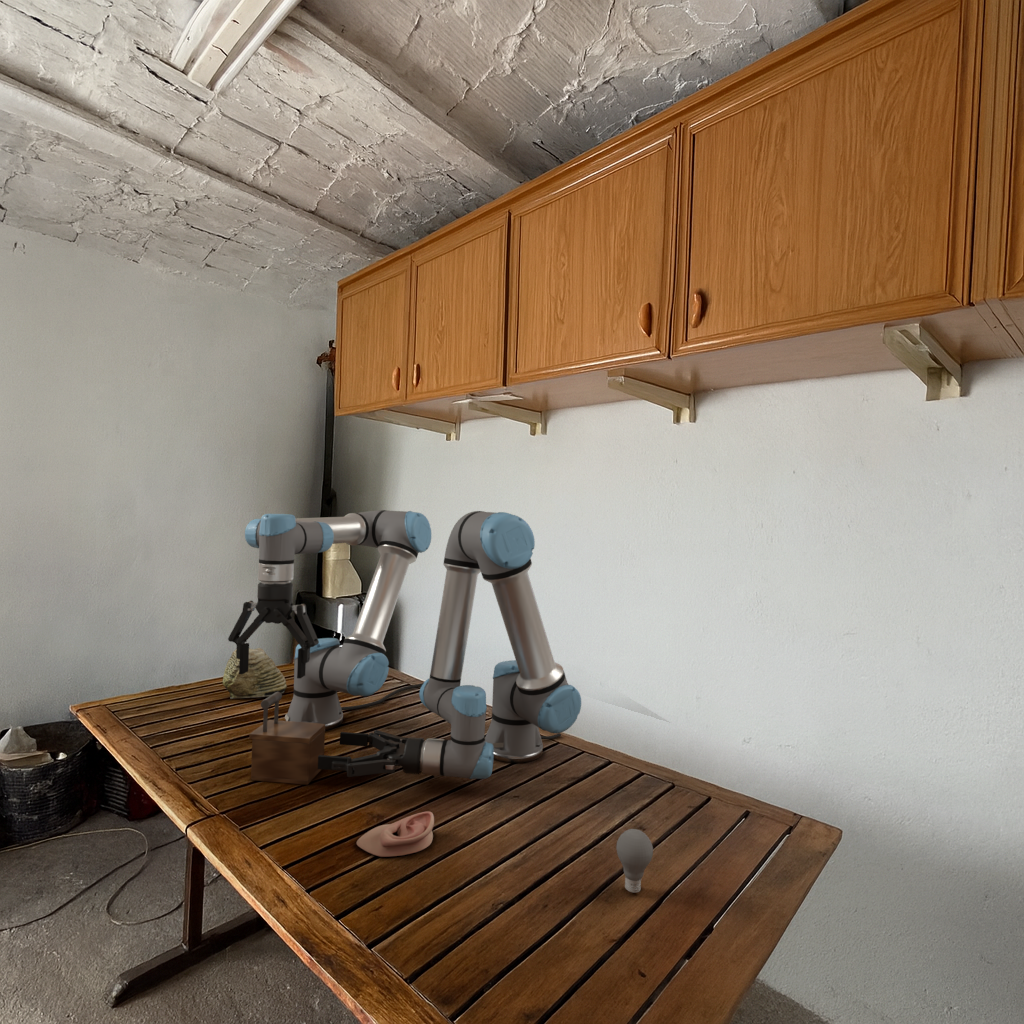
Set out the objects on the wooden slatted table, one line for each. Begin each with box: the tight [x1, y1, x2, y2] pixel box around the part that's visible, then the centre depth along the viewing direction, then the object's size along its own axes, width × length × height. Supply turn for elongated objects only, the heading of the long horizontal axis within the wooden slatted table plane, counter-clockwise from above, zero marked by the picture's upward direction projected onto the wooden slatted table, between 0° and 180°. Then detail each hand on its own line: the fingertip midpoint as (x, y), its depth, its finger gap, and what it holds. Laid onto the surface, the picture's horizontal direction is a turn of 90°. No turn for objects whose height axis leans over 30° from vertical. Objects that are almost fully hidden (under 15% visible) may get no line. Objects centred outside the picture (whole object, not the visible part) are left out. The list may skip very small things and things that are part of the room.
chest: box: [250, 729, 326, 786], centre depth 144 cm, size 13×9×9 cm
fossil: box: [222, 647, 288, 699], centre depth 198 cm, size 9×18×15 cm, turn 132°
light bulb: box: [615, 828, 654, 894], centre depth 106 cm, size 6×6×10 cm
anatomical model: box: [356, 811, 435, 858], centre depth 118 cm, size 13×4×12 cm
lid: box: [248, 692, 325, 744], centre depth 144 cm, size 14×9×8 cm
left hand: (272, 674), depth 144 cm, fingers open, 13 cm apart
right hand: (329, 749), depth 142 cm, fingers open, 13 cm apart
